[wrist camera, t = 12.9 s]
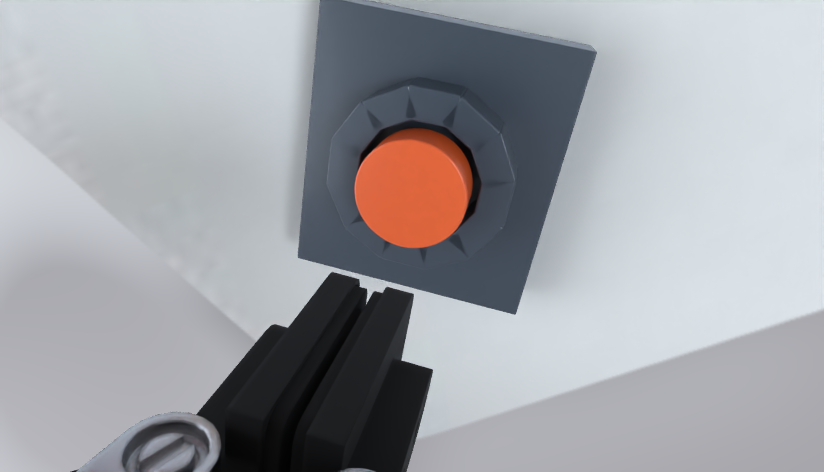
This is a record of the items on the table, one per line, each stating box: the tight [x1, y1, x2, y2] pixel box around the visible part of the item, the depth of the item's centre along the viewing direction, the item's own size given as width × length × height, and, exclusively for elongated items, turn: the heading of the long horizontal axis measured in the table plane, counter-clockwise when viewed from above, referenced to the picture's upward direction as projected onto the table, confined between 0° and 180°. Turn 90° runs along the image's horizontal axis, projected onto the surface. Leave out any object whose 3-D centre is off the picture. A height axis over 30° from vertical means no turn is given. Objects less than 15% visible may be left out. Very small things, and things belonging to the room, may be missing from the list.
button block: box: [298, 0, 597, 314], centre depth 22 cm, size 11×10×4 cm
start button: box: [354, 128, 473, 248], centre depth 20 cm, size 4×4×2 cm
